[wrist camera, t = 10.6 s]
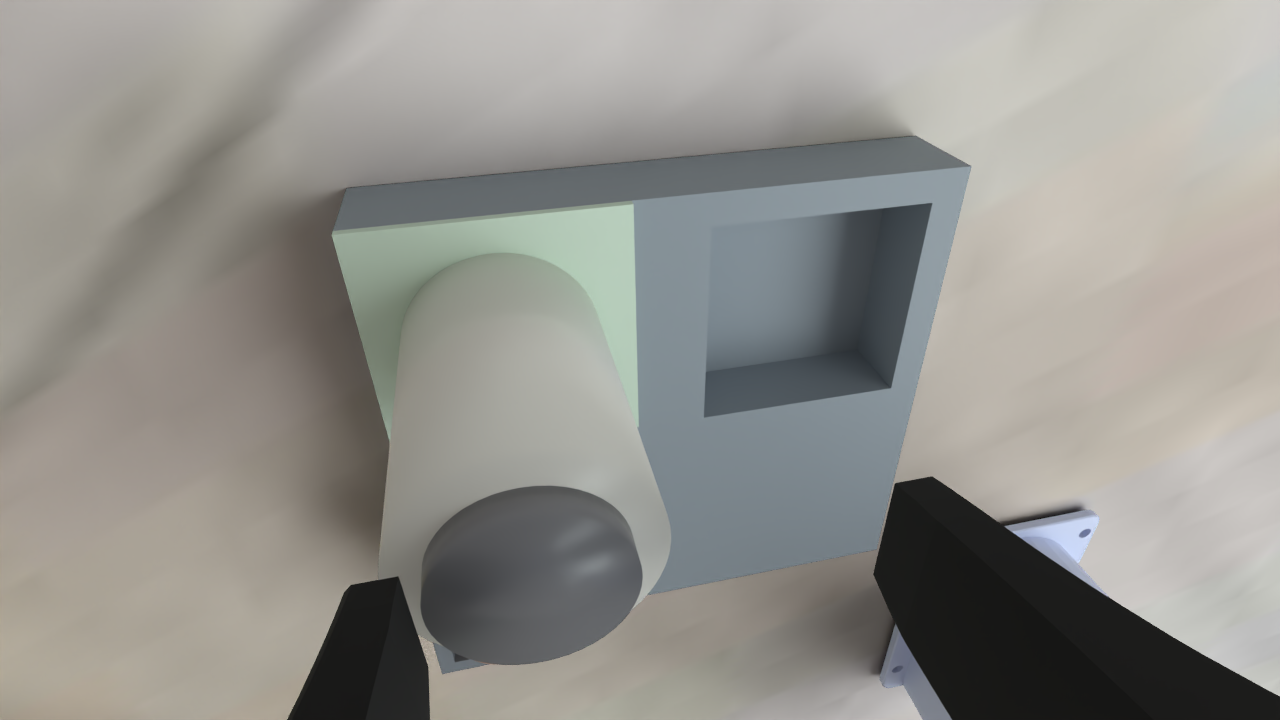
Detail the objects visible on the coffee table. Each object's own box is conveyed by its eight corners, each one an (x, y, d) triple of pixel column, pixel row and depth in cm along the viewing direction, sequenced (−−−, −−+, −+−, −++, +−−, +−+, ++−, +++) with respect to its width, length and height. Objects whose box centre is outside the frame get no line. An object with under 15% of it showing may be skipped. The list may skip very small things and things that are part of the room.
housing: (844, 498, 26) (901, 588, 22) (445, 572, 23) (445, 684, 20) (916, 135, 18) (1016, 191, 15) (346, 188, 16) (321, 266, 13)
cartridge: (637, 311, 16) (738, 540, 11) (533, 445, 18) (574, 707, 12) (466, 214, 14) (480, 437, 9) (364, 375, 16) (318, 655, 10)
